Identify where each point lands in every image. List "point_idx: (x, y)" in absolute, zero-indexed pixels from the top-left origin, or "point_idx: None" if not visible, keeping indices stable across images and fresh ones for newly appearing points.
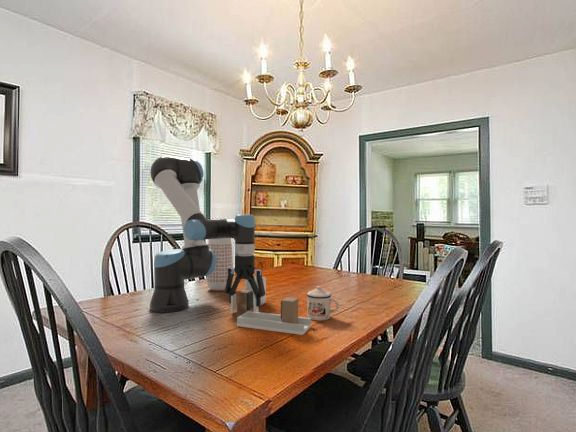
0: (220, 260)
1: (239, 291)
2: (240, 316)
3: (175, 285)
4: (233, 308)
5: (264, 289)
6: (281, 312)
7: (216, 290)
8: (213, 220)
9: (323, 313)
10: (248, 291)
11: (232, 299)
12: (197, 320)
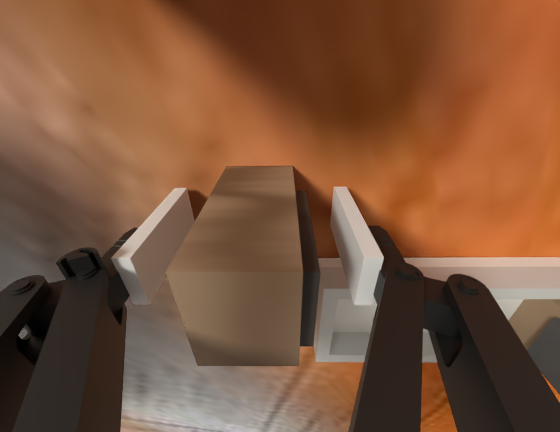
0: None
1: (200, 346)
2: (324, 351)
3: None
4: (186, 230)
5: (515, 336)
6: (556, 386)
7: None
8: None
9: None
10: (286, 324)
11: (160, 281)
12: (137, 325)
